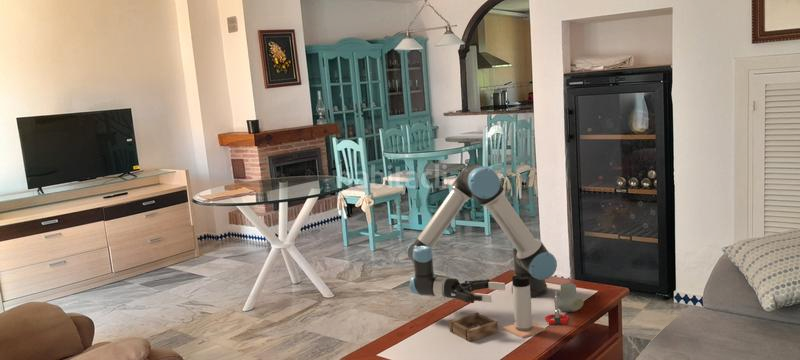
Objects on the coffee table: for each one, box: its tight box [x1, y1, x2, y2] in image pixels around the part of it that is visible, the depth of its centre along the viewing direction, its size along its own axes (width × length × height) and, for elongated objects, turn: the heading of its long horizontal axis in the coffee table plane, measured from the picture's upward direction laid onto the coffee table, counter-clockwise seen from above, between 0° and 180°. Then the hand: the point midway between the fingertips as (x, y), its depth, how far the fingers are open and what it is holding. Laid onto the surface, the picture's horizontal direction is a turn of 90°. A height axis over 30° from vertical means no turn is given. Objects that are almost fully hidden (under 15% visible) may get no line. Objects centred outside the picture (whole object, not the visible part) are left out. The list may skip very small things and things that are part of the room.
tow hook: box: [544, 290, 569, 325], centre depth 243 cm, size 8×13×9 cm
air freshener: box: [557, 282, 584, 313], centre depth 253 cm, size 11×8×10 cm
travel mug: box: [511, 275, 533, 331], centre depth 236 cm, size 6×7×20 cm
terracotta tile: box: [502, 322, 547, 339], centre depth 237 cm, size 11×11×1 cm
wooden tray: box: [448, 312, 499, 343], centre depth 240 cm, size 13×13×4 cm
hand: (498, 292), depth 240 cm, fingers open, 13 cm apart
